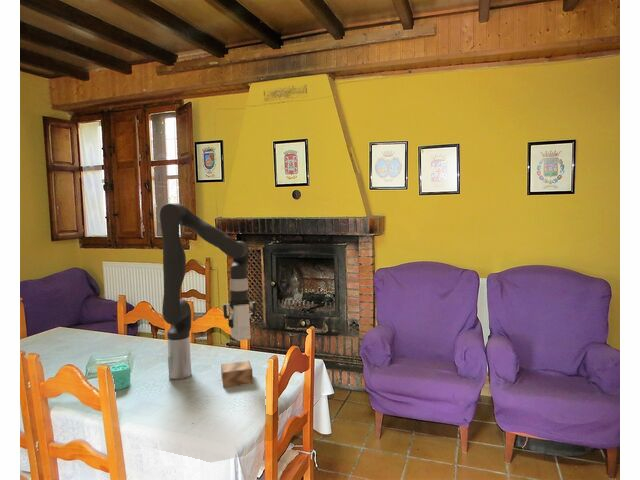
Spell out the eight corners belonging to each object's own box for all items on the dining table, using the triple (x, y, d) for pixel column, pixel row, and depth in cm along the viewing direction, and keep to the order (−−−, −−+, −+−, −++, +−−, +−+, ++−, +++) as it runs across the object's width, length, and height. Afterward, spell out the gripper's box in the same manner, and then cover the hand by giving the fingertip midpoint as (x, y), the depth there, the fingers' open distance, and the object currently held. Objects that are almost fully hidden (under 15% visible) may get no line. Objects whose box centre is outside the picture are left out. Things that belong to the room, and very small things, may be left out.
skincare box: (250, 339, 178) (250, 304, 176) (237, 341, 174) (236, 306, 173) (242, 334, 184) (242, 300, 183) (229, 336, 181) (229, 302, 180)
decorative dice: (109, 384, 177) (108, 365, 176) (130, 380, 179) (129, 362, 179) (107, 391, 169) (106, 372, 168) (129, 388, 172) (128, 369, 171)
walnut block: (223, 387, 171) (222, 372, 170) (221, 377, 181) (221, 363, 180) (252, 383, 175) (252, 368, 174) (249, 374, 184) (249, 360, 184)
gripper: (222, 291, 172) (223, 331, 173) (257, 289, 176) (258, 327, 178) (220, 287, 179) (221, 326, 180) (254, 285, 183) (255, 323, 185)
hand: (239, 326), depth 179 cm, fingers closed on skincare box, 6 cm apart
